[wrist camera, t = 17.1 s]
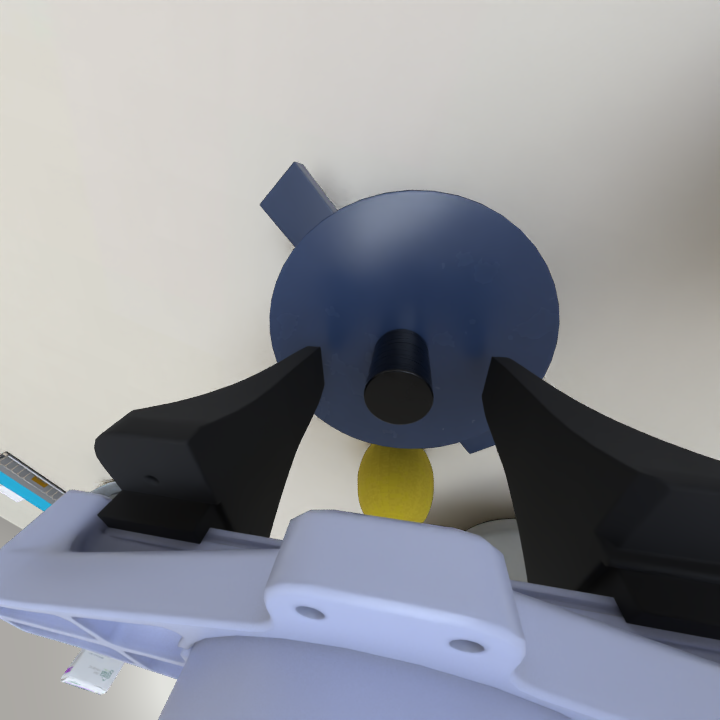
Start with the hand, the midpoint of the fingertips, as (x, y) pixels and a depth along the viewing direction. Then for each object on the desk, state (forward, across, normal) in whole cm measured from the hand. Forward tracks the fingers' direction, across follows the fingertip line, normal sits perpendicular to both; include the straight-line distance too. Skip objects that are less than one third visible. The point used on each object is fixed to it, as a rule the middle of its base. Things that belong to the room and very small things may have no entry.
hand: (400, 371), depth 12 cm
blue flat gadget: (+7, +55, +29) cm, 62 cm away
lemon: (+7, 0, +11) cm, 13 cm away
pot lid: (+2, 0, 0) cm, 2 cm away
